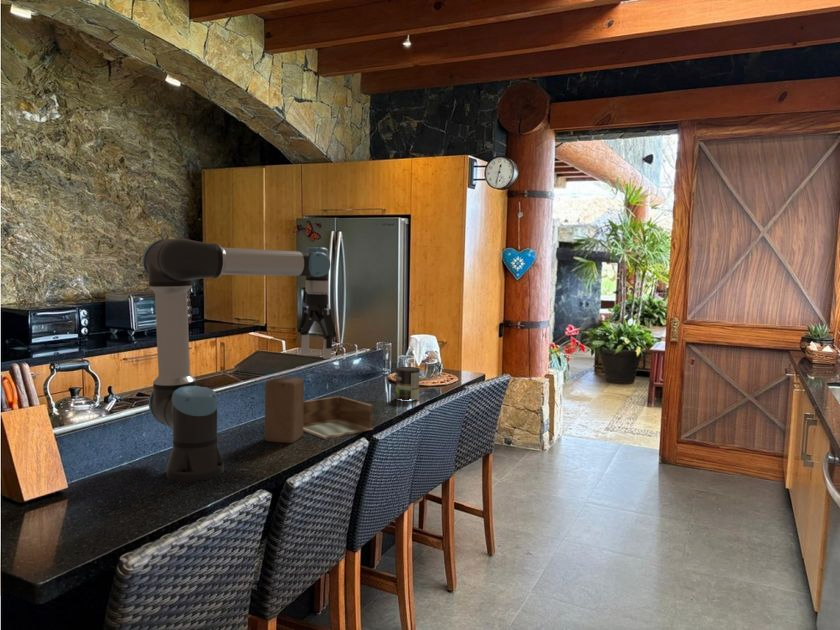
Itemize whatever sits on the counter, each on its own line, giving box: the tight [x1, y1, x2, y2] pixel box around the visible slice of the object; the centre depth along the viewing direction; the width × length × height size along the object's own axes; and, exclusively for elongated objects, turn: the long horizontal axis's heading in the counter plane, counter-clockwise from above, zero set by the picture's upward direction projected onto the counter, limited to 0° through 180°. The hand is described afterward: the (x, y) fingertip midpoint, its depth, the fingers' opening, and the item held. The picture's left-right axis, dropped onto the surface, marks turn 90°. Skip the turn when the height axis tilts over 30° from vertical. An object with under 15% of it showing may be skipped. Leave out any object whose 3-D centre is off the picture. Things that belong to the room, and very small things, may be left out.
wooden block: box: [264, 376, 305, 444], centre depth 211 cm, size 10×10×20 cm
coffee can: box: [395, 366, 421, 400], centre depth 275 cm, size 10×10×14 cm
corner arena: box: [303, 395, 374, 440], centre depth 226 cm, size 20×20×9 cm
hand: (316, 356), depth 217 cm, fingers open, 13 cm apart
